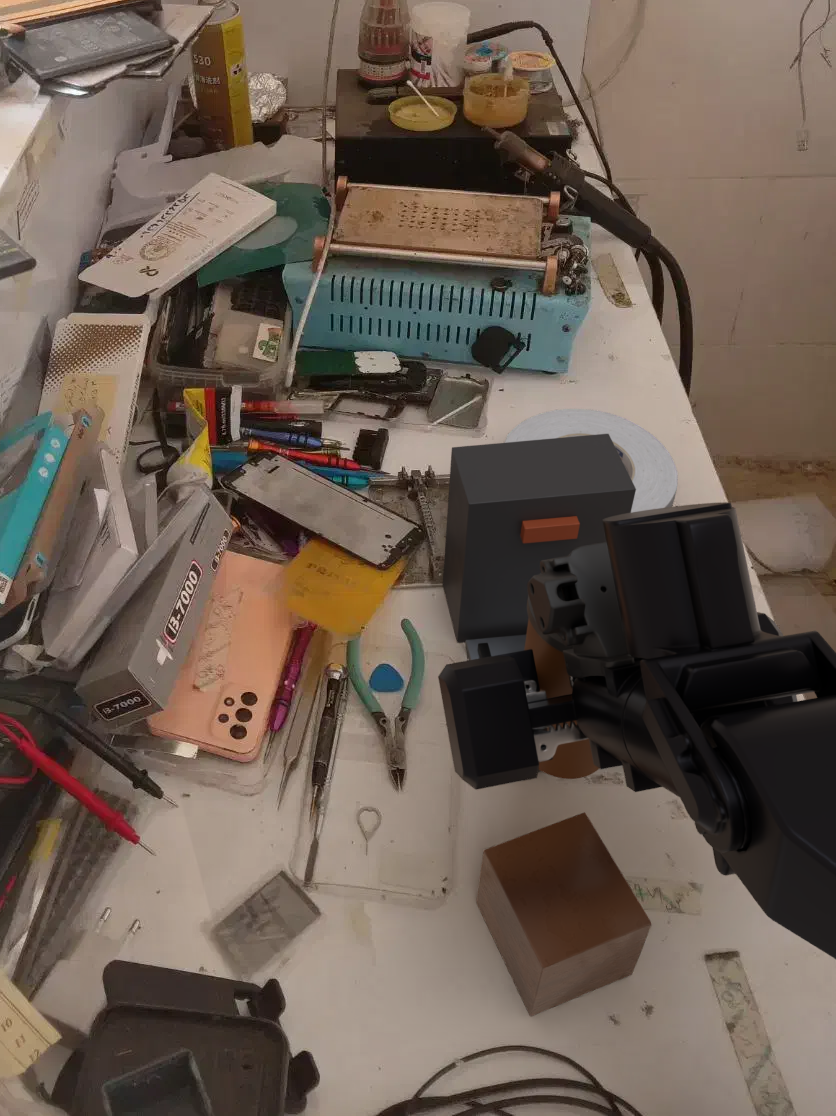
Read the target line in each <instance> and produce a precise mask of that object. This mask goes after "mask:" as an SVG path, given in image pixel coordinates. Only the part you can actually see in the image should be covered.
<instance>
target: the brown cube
mask: <svg viewBox="0 0 836 1116" xmlns="http://www.w3.org/2000/svg"><path fill="white" fill-rule="evenodd" d="M476 905H477V907H478V910H479V911H480V913H481V916H482V917H483V920H484V922H485V924H486V926H487V928H488V930H489V932H490V934H491V936H492V938H493V941H494V943H495V946H496V947H497V949H498V951H499V955H500V956H501V958H502V960H503V963H504V964H505V966H506V968H507V971H508V972H509V974H510V977H511V979H512V981H513V983H514V985H515V987H516V989H517V992H518V994H519V996H520V998H521V1000H522V1002H523V1005H524V1006H525V1008H526V1011H527V1012H528V1014H529V1016H530V1017H533V1016H536V1015H538V1014H540V1013H542V1012H546V1011H547V1010H551V1009H552V1008H555V1007H557V1006H559V1005H562V1004H564V1003H567V1002H569V1001H571V1000H574V999H577V998H579V997H581V996H583V995H586V994H588V993H590V992H593V991H595V990H598V989H600V988H603V987H605V986H607V985H610V984H612V983H615V982H617V981H619V980H622V979H624V978H627V977H629V976H631V975H633V973H634V971H635V968H636V965H637V963H638V960H639V958H640V955H641V953H642V950H643V948H644V945H645V944H646V943H645V942H646V940H647V937H648V936H649V933H650V930H651V927H652V925H653V923H652V921H651V919H650V917H649V916H648V914H647V913H646V911H645V910H644V908H643V906H642V904H641V903H640V901H639V899H638V898H637V895H636V894H635V893H634V891H633V890H632V887H631V886H630V884H629V883H628V880H627V879H626V878H625V876H624V874H623V873H622V872H621V869H620V868H619V866H618V865H617V862H616V861H615V859H614V858H613V856H612V854H611V853H610V851H609V850H608V848H607V846H606V845H605V843H604V842H603V839H602V838H601V836H600V835H599V832H597V829H596V828H595V826H594V825H593V823H592V821H591V819H590V817H589V816H588V814H587V813H586V812H582V813H579V814H576V815H573V816H571V817H567V818H565V819H562V820H560V821H557V822H555V823H551V824H550V825H546V826H543V827H541V828H538V829H536V830H533V831H530V832H528V833H525V834H523V835H520V836H518V837H515V838H512V839H509V840H506V841H503V842H501V843H498V844H496V845H493V846H491V847H488V848H485V849H483V853H482V859H481V867H480V874H479V880H478V888H477V895H476Z"/></svg>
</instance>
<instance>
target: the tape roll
mask: <svg viewBox="0 0 836 1116" xmlns="http://www.w3.org/2000/svg"><path fill="white" fill-rule="evenodd" d="M597 434H609V435H610V437H611V440H612V442H613V444H614V446H615V448H616V450H617V452H618V454H619V456H620V458H621V460H622V462H623V464H624V466H625V468H626V470H627V472H628V474H629V476H630V478H631V480H632V482H633V484H634V486H635V488H636V492H635V496H634V501H633V505H632V509H631V513H632V512H638V511H644V510H651V509H658V508H666V507H674V506H673V505H674V502H675V499H676V494H677V491H678V486H679V485H678V484H679V473H678V469H677V466H676V463H675V461H674V459H673V456H672V455H671V453H670V451H669V450H668V449H667V448H666V447H665V445H664V443H662V442H661V440H659V439H658V438H657V437H656V436H655V435H654V434H653V433H651V432H650V431H648V430H647V429H645V427H642V426H641V425H639V424H638V423H636V422H634V421H632V420H630V419H628V418H626V417H623V416H621V415H617V414H614V413H611V412H607V411H602V410H597V409H591V408H561V409H554V410H548V411H544V412H542V413H538V414H535V415H533V416H530V417H528V418H525V420H523V421H521V422H519V423H518V424H516V426H515V427H513V429H511V431H510V432H508V433H507V435H506V437H505V440H504V441H503V443H507V442H518V441H530V440H541V439H552V438H563V437H575V436H586V435H597Z"/></svg>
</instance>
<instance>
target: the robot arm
mask: <svg viewBox="0 0 836 1116" xmlns="http://www.w3.org/2000/svg"><path fill="white" fill-rule="evenodd" d="M732 505H733V504H732V502H726V501H724V502H707V503H696V504H683V505H675V506H672V507H666V508H658V509H651V510H644V511H638V512H632V513H626V514H621V515H616V516H612V517H608V518H605V519H603V520H602V521H603V526H604V531H605V537H606V542H602V543H596V544H591V545H585V546H580V547H577V548H575V549H574V550H573V551H572V552H571V553H570V554H569V555H568V556H564V557H558V558H553V559H547V560H541V561H540V570H541V574H539V575H534V576H533V577H532V578H531V579H530V580H529V582H528V583H527V589H528V595H529V598H530V602H531V605H532V609H533V612H534V615H535V619H536V622H537V625H538V628H539V630H540V631H541V633H543V634H544V635H547V634H553V633H556V634H558V635H559V636H560V637H561V639H562V642H563V644H564V645H565V646H566V647H567V646H572V645H573V649H567V650H563V654H564V659H565V665H566V670H567V673H568V675H569V680H570V685H571V688H572V694H568V695H563V696H557V697H552V698H547V696H546V691H544V690H543V689H540V687H539V682H538V676H537V671H536V666H535V660H534V655H533V650H532V649H529V650H524V651H518V652H513V653H507V654H501V655H496V656H490V657H485V658H479V659H474V660H468V659H467V660H463V661H458V662H452V663H446V664H445V665H444V667H443V668H442V670H441V671H440V673H439V674H438V676H437V678H438V683H439V690H440V695H441V701H442V707H443V713H444V716H445V717H444V718H445V723H446V729H447V736H448V740H449V747H450V751H451V758H452V763H453V769H454V773H455V774H456V775H458V777H459V778H461V780H462V781H464V782H465V783H466V784H467V785H468V786H470V787H472V788H473V789H474V790H481V789H482V790H483V789H486V788H492V787H497V786H502V785H508V784H513V783H518V782H524V781H529V780H534V779H538V775H539V771H538V769H539V762H542V761H548V760H552V759H553V756H554V754H555V752H556V748H557V746H558V745H560V744H565V743H570V742H575V741H581V740H586V739H589V742H590V748H591V753H592V758H593V763H594V765H595V766H597V767H598V768H600V769H599V770H605V769H610V768H616V767H621V766H622V769H623V775H624V780H625V785H626V787H627V788H628V789H629V790H632V791H633V792H634V793H639V792H644V791H649V790H654V789H658V788H664V789H666V790H667V791H669V792H670V793H672V794H674V796H677V797H679V798H680V800H681V802H682V804H683V806H684V809H685V811H686V813H687V814H688V816H689V818H690V819H691V820H692V821H693V822H694V826H695V829H696V831H697V833H698V834H699V835H701V836H702V837H703V839H704V840H705V842H706V843H707V844H708V845H709V846H710V847H711V849H712V853H713V858H714V863H715V867H716V869H717V871H718V872H719V873H720V874H721V875H722V876H725V877H727V876H731V875H736V876H737V878H738V879H739V880H740V882H741V883H742V885H743V886H744V887H745V889H746V890H747V891H748V893H749V894H750V895H751V897H752V899H754V901H755V902H756V903H757V905H758V906H759V907H760V909H761V910H762V912H763V913H764V914H765V915H766V916H767V917H768V918H769V919H770V920H771V921H773V922H774V923H776V924H778V925H779V926H781V927H783V928H784V929H786V930H788V931H789V932H791V933H792V934H794V935H795V936H798V937H799V938H801V939H802V940H804V941H806V942H807V943H809V944H810V945H812V946H813V947H815V948H817V949H818V950H820V951H822V952H823V953H825V954H827V955H828V956H829V957H832V958H833V959H834V960H836V651H835V649H833V647H832V646H831V645H830V644H829V643H828V642H827V640H825V638H824V637H823V636H822V635H821V634H820V632H819V631H817V630H810V631H804V632H799V633H792V634H787V635H784V633H783V632H782V630H781V629H780V628H779V626H778V625H777V623H776V622H775V621H774V619H772V618H771V617H770V616H769V615H767V614H766V613H764V612H759V611H757V606H756V601H755V597H754V591H753V587H752V581H751V577H750V572H749V567H748V563H747V556H746V552H745V547H744V543H743V542H744V541H743V537H742V534H741V533H742V532H741V528H740V524H739V523H740V522H739V518H738V513H737V508H736V507H735V506H732ZM809 693H814V694H815V696H816V697H814V698H807V699H802V700H798V696H797V695H803V694H809ZM575 720H576V721H577V725H576V724H575V722H574V721H575ZM566 722H570V727H569V725H568V723H566ZM559 723H563V728H562V727H561V725H560V724H559ZM554 724H556V729H555V728H554V726H553V725H554ZM548 727H549V731H548V730H547V728H548Z"/></svg>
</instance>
